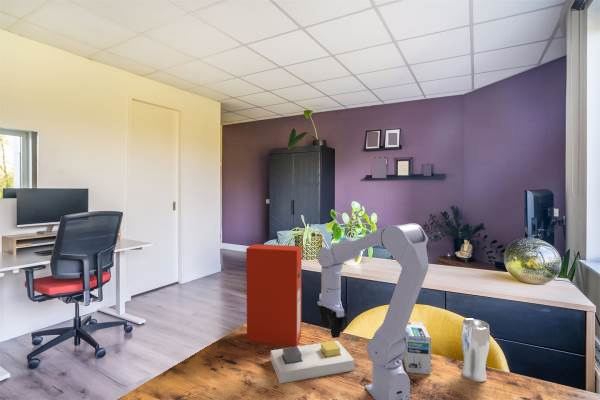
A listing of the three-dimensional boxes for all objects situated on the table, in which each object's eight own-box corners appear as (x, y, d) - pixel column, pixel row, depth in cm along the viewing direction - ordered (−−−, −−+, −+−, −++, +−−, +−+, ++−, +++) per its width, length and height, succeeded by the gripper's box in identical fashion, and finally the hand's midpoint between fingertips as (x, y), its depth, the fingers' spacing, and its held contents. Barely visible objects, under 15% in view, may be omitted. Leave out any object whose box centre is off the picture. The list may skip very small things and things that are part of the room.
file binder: (296, 347, 105) (296, 250, 104) (246, 341, 109) (246, 248, 107) (301, 335, 113) (301, 245, 111) (254, 331, 116) (254, 243, 115)
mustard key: (340, 358, 95) (340, 348, 95) (326, 360, 94) (326, 350, 93) (334, 350, 99) (334, 341, 99) (320, 352, 98) (321, 343, 98)
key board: (354, 370, 92) (354, 360, 92) (279, 383, 86) (279, 372, 86) (337, 349, 104) (337, 340, 103) (270, 360, 97) (270, 350, 97)
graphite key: (301, 364, 91) (301, 354, 91) (286, 366, 90) (286, 356, 90) (297, 356, 96) (297, 346, 95) (282, 358, 94) (282, 348, 94)
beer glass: (492, 385, 86) (494, 330, 85) (464, 381, 87) (466, 327, 86) (483, 370, 92) (484, 319, 92) (457, 367, 94) (458, 317, 93)
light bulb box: (431, 375, 90) (432, 337, 89) (406, 373, 91) (407, 335, 91) (422, 355, 100) (423, 321, 100) (400, 353, 102) (401, 320, 101)
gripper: (310, 280, 101) (310, 322, 102) (327, 295, 87) (327, 344, 88) (331, 278, 103) (330, 320, 104) (351, 293, 89) (350, 341, 90)
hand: (330, 331), depth 96 cm, fingers open, 7 cm apart
